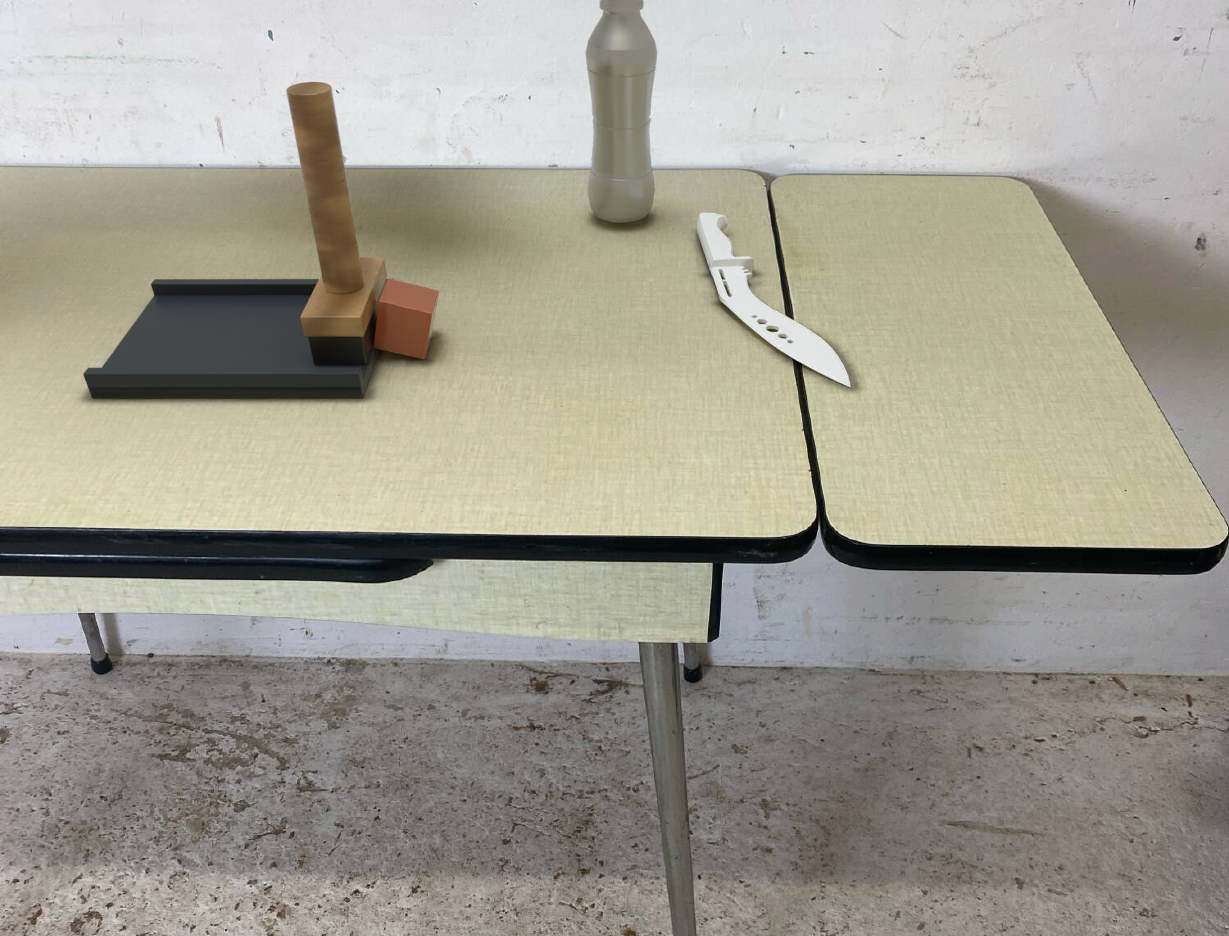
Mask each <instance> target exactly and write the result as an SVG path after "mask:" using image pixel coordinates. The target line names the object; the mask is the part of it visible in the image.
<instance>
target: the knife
mask: <svg viewBox="0 0 1229 936" xmlns="http://www.w3.org/2000/svg"><path fill="white" fill-rule="evenodd" d="M695 225H696V232H697V235H698V238H699V241H700V244H701V247H702V251H703V254H704V257H705V260H706V263H707V266H708V269H709V273H710V275H711V277H712V278H713V281H714V284H715V288H716V289H717V294H718V299H719V301H720V302H721V303H722V304H723V305H724V306H726V307H727V308H728V309H729V310H730V311H731V312H732V313H733V314H734V315H735V316H737V318H738V319H740V320H741V321H742V322H743V323H744V324H745V325H746V326H748V327H749V328H750V329H752V330H753V332H755V333H756V334H758V335H759V336H760V337H761V338H762V339H764V340H766V342H767V343H769V344H770V345H771V346H774V347H775V348H776V349H778V350H779V351H780V352H782V353H784V354H785V355H787V356H789V357H790V358H792V359H793V360H795V361H797V362H799V363H801V364H802V365H804V366H806V367H808V368H810V369H812V370H814V371H815V372H817V373H819V374H821V375H823V376H825V377H827V378H829V379H831V380H833V381H835V382H837V383H840V384H841V385H845V386H846V387H849V388H851V381H850V377H849V374H848V372H847V370H846V368H845V365H844V363H843V362H842V360H841V358H840V356H839V355H838V354H837V352H836V351H835V350H834V348H833V347H832V346H831V345H830V344H829V343H827V342H826V340H825V339H823V338H822V337H821V336H819V335H818V334H816V333H815V332H814V331H812V330H810V329H809V328H807V327H805V326H804V325H802V324H801V323H799V322H798V321H795V320H794V319H792V318H790V317H789V316H787V315H785V314H783V313H781V312H779V311H777V310H776V309H774V308H772V307H770V306H768V305H767V304H765V303H764V302H763V301H761V300H760V299H759V298H758V297H757V296H756V295H754V293H753V292H752V291H751V288H750V286H749V284H748V280H749V279H752V278H753V271H754V268H755V267H754V266H755V261H754V258H753V257H752V256H750V255H746V256H734V248H733V244H732V242H731V241H730V239H729V238H728V236H727V235H726V234H725V233H724V231H725V230H726V229H727V228H728V226H729V221H728V218H727V217H726V215H724V214H721V213H720V214H719V213H714V212H700V213H699V214H698V216H697V218H696V220H695ZM722 278H723V279H722ZM726 289H727V290H726ZM727 292H728V293H727ZM769 330H776V331H769Z"/></svg>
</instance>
